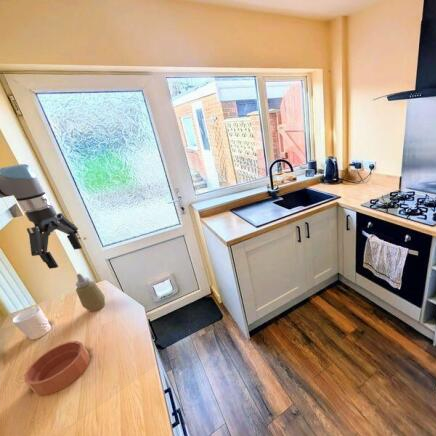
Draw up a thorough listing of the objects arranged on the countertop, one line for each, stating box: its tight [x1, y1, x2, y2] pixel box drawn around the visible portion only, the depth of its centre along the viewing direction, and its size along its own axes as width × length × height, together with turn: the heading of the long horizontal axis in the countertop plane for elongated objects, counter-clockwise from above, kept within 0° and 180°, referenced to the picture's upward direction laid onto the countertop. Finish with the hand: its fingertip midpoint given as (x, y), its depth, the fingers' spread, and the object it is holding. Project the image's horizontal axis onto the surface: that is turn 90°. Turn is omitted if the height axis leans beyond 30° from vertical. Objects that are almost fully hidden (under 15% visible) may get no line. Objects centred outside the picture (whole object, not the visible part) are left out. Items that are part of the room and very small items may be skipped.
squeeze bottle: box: [75, 272, 106, 313], centre depth 105 cm, size 8×8×18 cm
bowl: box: [24, 340, 91, 396], centre depth 80 cm, size 14×14×6 cm
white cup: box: [12, 306, 52, 340], centre depth 96 cm, size 8×8×10 cm
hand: (66, 257), depth 97 cm, fingers open, 13 cm apart
